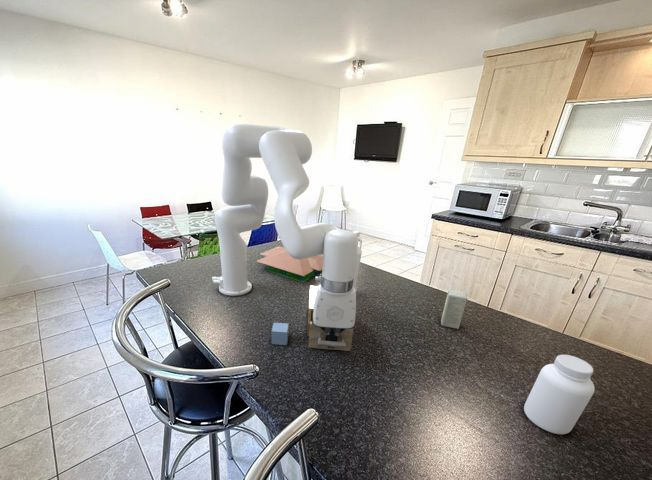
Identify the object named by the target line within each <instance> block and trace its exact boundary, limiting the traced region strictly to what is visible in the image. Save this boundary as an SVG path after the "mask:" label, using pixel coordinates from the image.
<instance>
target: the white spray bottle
mask: <svg viewBox="0 0 652 480" xmlns="http://www.w3.org/2000/svg"><path fill="white" fill-rule="evenodd" d="M351 232H353V233H355V234H356V235H357V236H358V243H359V245H358V249H357V257H356V265H355V273H354V280H353V287H354V288H355V290H356V291H358V288H357V282H358V281H357V280H358V275H359V271H360V264H361V260H362V253H363V251H362V246H363V245H362V244H363V240H362V239H361V238H359V237H361V233H360V231H359V230H352V231H351Z"/></svg>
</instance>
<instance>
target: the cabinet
mask: <svg viewBox="0 0 652 480" xmlns="http://www.w3.org/2000/svg"><path fill="white" fill-rule="evenodd" d="M317 288H318V285H309V297H308V313H307V329H306V330H307V331H306V337H309V332H310V321H312V314H313V311H314V303H315V297H316V292H317Z"/></svg>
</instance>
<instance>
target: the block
mask: <svg viewBox="0 0 652 480" xmlns="http://www.w3.org/2000/svg"><path fill="white" fill-rule="evenodd" d="M289 325H290V324H289V323H285V322H273V323H272V328H271V345H279V346H288V341H289Z"/></svg>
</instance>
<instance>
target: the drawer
mask: <svg viewBox="0 0 652 480" xmlns="http://www.w3.org/2000/svg"><path fill="white" fill-rule="evenodd" d="M313 313H314V311H313ZM312 320H313V314H312ZM330 328H331V327H330ZM333 329H334V328H331V331H332V330H333ZM354 329H355V327H354V328H353V329H345V330H344V331H342V332H341V333H340V334H339V336H338V339H337V342H336V341H325V337H326V334H325V332H324V331H323V330H322V329H321V328H320V327H316V326H313V325H312V321H310V332H309V336H308V348H309V349H320V350H321V349H322V350H333V351H334V350H335V351H346V352H351V350H352V344H353V336H354V335H353V334H354ZM328 347H334V348H328Z"/></svg>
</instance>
